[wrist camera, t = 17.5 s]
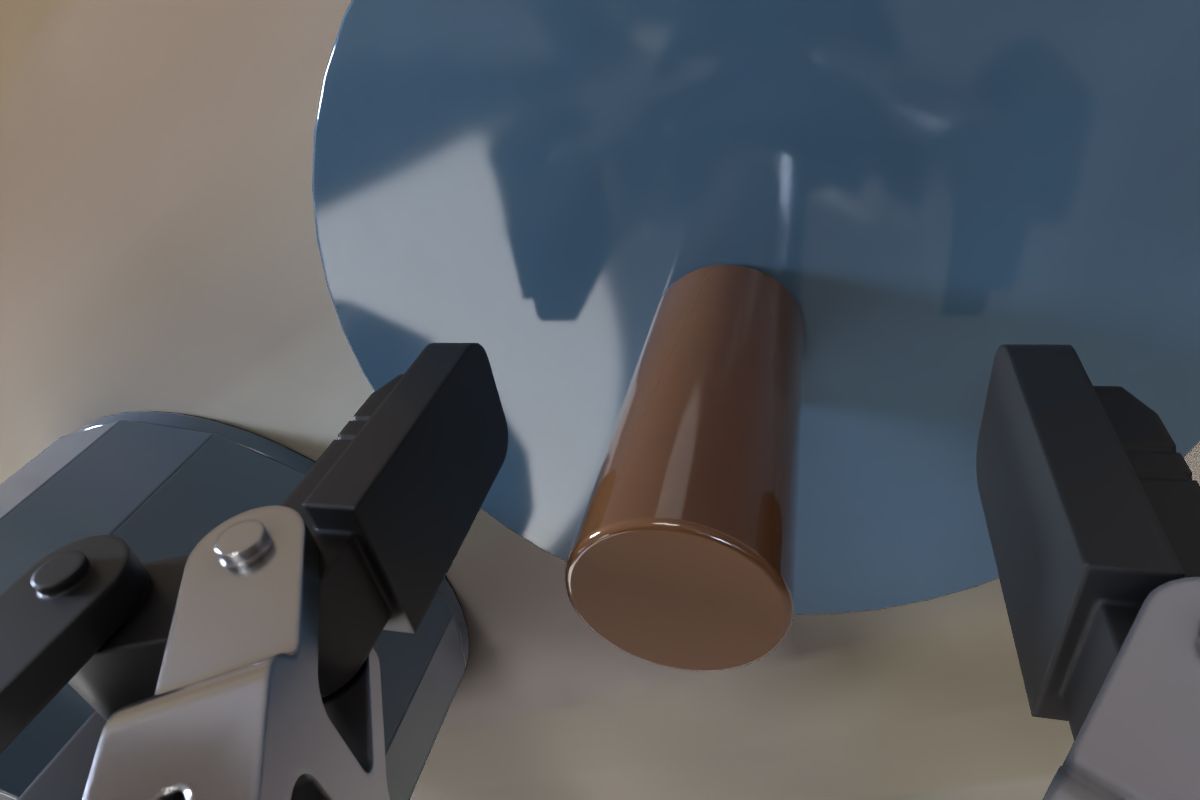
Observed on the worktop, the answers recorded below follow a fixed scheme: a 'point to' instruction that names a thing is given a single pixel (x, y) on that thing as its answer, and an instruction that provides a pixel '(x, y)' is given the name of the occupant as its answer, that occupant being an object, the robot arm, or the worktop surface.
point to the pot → (173, 528)
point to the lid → (761, 270)
